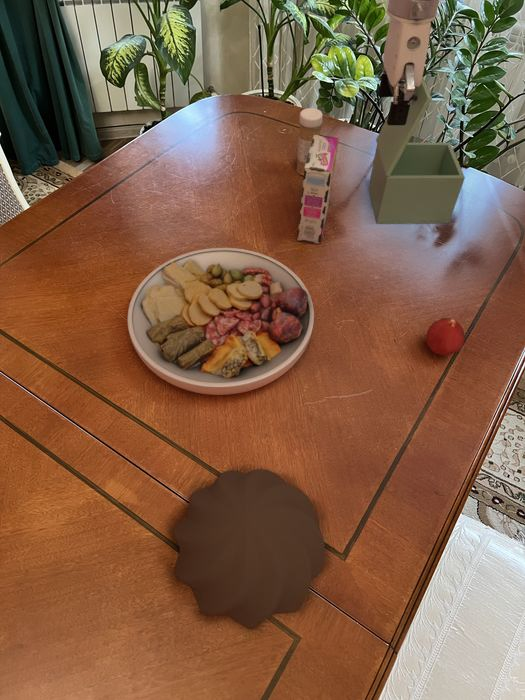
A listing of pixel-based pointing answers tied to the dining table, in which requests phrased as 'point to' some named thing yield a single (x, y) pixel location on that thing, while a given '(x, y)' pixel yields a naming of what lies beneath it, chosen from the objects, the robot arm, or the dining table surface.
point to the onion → (445, 336)
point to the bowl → (220, 320)
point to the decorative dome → (249, 546)
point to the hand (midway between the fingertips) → (391, 109)
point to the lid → (402, 127)
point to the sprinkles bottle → (307, 134)
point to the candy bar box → (317, 188)
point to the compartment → (417, 185)
